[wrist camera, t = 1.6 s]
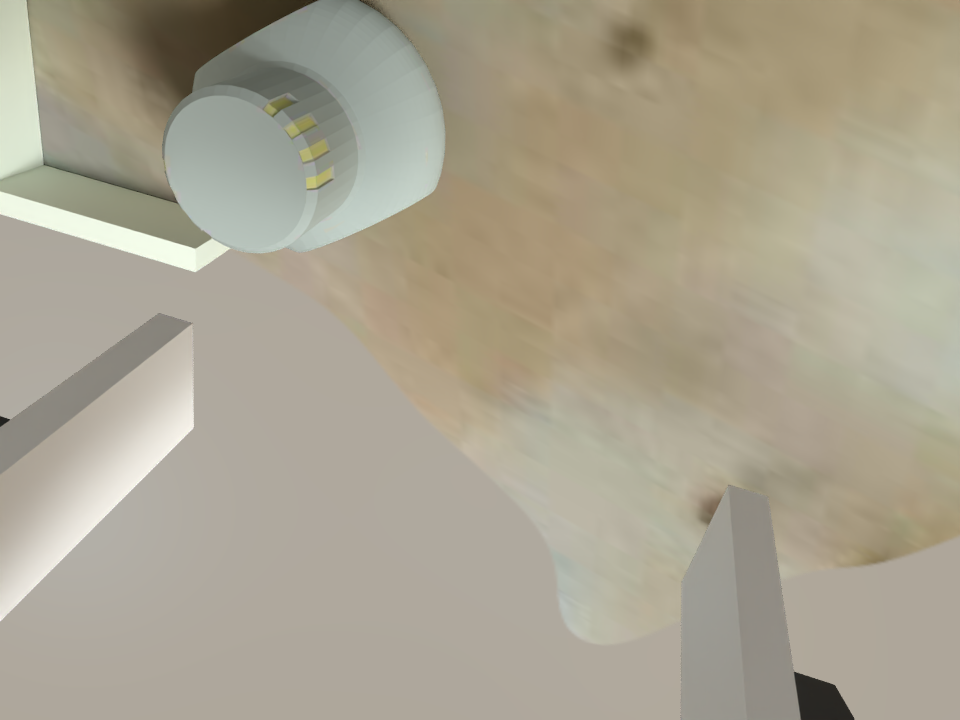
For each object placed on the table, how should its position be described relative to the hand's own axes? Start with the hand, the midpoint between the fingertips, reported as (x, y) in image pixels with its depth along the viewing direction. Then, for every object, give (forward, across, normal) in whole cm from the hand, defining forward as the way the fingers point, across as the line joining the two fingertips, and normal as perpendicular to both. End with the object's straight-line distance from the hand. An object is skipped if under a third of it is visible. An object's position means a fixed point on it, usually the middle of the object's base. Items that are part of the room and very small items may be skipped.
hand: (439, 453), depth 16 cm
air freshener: (+21, -11, 0) cm, 24 cm away
